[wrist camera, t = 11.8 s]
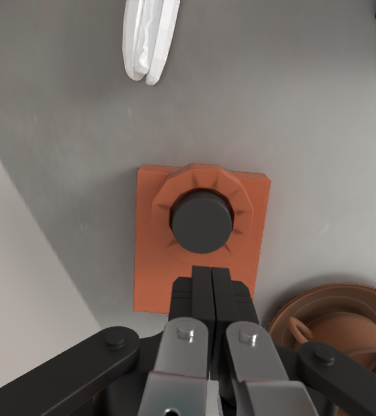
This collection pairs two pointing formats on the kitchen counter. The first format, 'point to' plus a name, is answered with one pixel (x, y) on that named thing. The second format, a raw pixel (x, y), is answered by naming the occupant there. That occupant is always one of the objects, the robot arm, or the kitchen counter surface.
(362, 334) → the cup and saucer
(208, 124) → the kitchen counter surface
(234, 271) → the switch block
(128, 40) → the sub sandwich
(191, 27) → the kitchen counter surface
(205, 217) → the lamp switch
